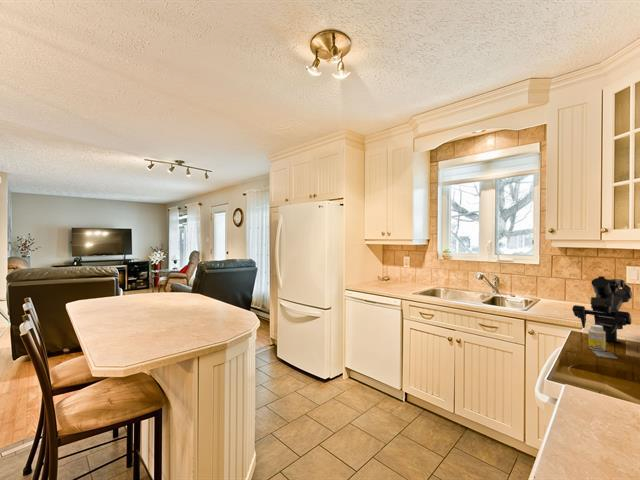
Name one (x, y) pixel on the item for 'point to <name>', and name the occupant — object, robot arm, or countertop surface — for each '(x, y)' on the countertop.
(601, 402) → the countertop surface
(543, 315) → the countertop surface
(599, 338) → the supplement bottle
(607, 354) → the slate coaster
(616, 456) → the countertop surface
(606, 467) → the countertop surface
